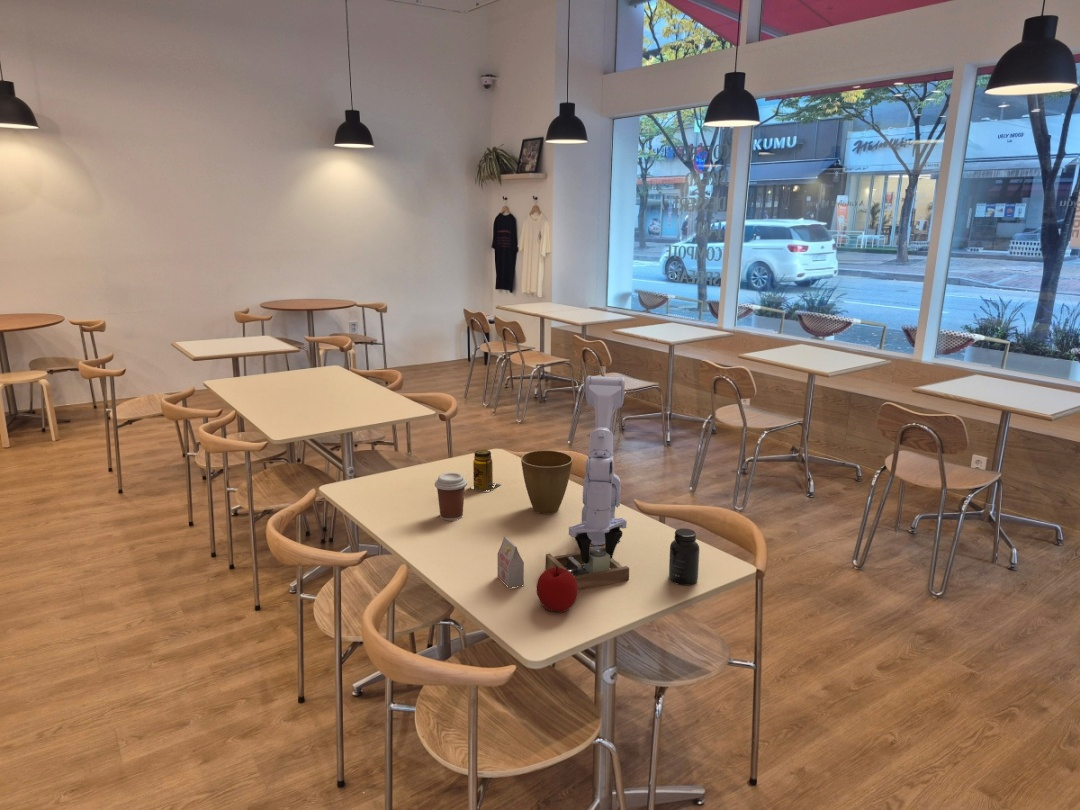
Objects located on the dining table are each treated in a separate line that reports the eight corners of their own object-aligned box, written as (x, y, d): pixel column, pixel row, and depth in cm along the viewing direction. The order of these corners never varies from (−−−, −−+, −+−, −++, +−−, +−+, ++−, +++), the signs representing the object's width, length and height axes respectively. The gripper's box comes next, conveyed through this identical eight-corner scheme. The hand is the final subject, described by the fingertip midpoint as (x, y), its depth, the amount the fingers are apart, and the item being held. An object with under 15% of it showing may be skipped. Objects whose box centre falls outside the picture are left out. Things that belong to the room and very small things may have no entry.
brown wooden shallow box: (545, 569, 177) (545, 554, 176) (603, 558, 184) (603, 543, 183) (567, 592, 166) (568, 576, 165) (628, 579, 173) (629, 564, 172)
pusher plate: (553, 571, 177) (553, 559, 176) (571, 567, 179) (571, 556, 178) (570, 588, 168) (570, 576, 168) (589, 584, 170) (589, 572, 170)
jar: (584, 570, 177) (584, 547, 176) (600, 567, 179) (601, 544, 178) (592, 578, 173) (593, 555, 172) (609, 575, 175) (610, 552, 174)
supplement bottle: (677, 569, 178) (680, 523, 175) (702, 578, 174) (706, 531, 171) (662, 579, 173) (665, 532, 170) (688, 588, 169) (691, 540, 166)
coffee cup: (451, 525, 203) (451, 484, 200) (428, 517, 208) (427, 477, 205) (474, 515, 210) (473, 475, 207) (451, 507, 215) (450, 469, 213)
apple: (586, 606, 160) (587, 564, 158) (559, 622, 154) (560, 579, 152) (554, 592, 166) (555, 552, 164) (527, 607, 160) (527, 565, 158)
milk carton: (511, 573, 175) (511, 535, 173) (523, 586, 169) (523, 546, 167) (497, 576, 174) (497, 537, 171) (509, 589, 168) (509, 549, 165)
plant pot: (510, 508, 215) (510, 456, 211) (547, 496, 225) (548, 447, 221) (544, 524, 204) (544, 469, 201) (582, 510, 214) (583, 458, 210)
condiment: (468, 489, 231) (467, 452, 228) (482, 481, 238) (482, 445, 235) (487, 493, 228) (487, 456, 225) (501, 484, 235) (501, 449, 232)
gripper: (578, 517, 166) (577, 571, 169) (634, 507, 171) (631, 561, 175) (565, 506, 172) (564, 559, 175) (618, 497, 178) (616, 549, 181)
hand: (596, 559), depth 175 cm, fingers open, 6 cm apart
